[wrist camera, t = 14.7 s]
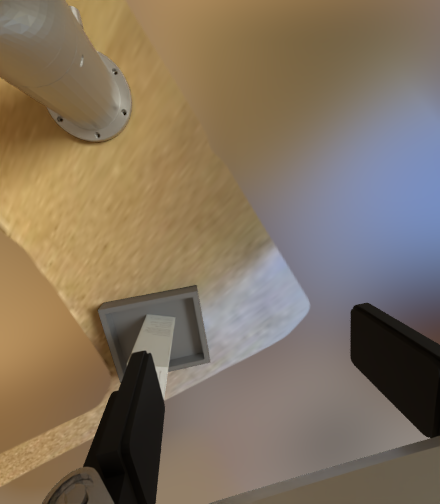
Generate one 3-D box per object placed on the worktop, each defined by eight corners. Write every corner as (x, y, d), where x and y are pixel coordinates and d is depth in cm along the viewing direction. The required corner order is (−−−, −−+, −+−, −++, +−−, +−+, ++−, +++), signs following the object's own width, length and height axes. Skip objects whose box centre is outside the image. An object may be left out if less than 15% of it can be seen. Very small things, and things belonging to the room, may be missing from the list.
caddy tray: (103, 302, 44) (97, 310, 41) (196, 285, 45) (197, 291, 43) (124, 371, 48) (120, 382, 45) (208, 352, 50) (210, 362, 47)
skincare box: (170, 350, 47) (163, 418, 33) (140, 349, 46) (119, 417, 32) (175, 314, 45) (171, 368, 31) (144, 311, 44) (124, 366, 30)
